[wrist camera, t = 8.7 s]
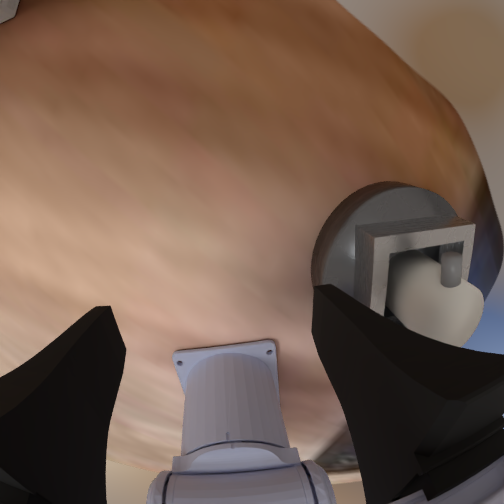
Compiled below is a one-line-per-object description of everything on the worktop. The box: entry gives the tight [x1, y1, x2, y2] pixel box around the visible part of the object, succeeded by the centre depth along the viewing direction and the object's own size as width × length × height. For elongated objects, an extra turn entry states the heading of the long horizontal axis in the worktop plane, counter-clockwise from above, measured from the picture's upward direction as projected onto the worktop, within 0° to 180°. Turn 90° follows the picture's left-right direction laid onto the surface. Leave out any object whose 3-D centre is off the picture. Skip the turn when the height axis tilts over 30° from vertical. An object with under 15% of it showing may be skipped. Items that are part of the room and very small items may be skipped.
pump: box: [385, 249, 484, 347], centre depth 16 cm, size 6×4×6 cm
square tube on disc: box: [311, 181, 475, 329], centre depth 19 cm, size 12×12×6 cm
